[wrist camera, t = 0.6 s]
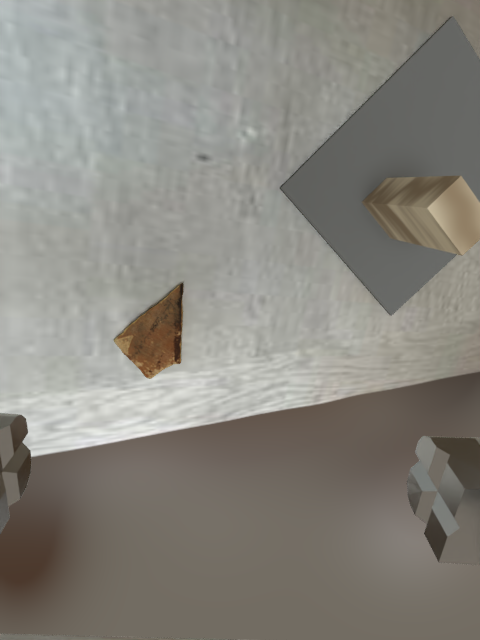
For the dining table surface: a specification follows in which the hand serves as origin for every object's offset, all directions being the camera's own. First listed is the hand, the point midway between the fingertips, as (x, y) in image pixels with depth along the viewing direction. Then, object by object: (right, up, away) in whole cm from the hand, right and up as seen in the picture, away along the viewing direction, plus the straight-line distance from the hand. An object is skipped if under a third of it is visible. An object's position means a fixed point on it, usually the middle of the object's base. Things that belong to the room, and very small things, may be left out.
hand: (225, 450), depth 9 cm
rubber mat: (+22, +20, +44) cm, 53 cm away
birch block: (+18, +16, +44) cm, 51 cm away
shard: (-11, +2, +45) cm, 46 cm away
